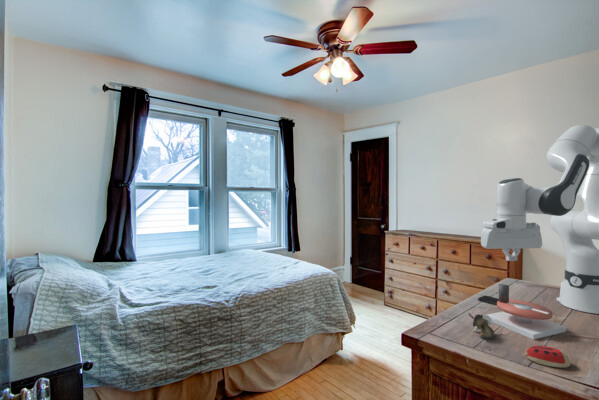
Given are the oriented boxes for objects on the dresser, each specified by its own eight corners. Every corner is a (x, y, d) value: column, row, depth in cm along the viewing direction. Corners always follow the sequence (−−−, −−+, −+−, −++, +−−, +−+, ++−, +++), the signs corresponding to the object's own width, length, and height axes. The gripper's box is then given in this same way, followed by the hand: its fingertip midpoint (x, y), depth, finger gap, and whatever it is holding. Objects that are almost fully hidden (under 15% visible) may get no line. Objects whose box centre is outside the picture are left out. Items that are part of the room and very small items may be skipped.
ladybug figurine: (577, 371, 72) (577, 357, 72) (533, 366, 75) (533, 353, 75) (559, 357, 79) (559, 344, 79) (519, 353, 81) (519, 340, 81)
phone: (485, 295, 128) (526, 305, 115) (485, 297, 128) (526, 308, 115) (476, 298, 123) (518, 309, 111) (476, 301, 123) (518, 312, 111)
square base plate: (515, 313, 109) (515, 301, 109) (565, 331, 94) (566, 318, 94) (484, 319, 104) (484, 306, 104) (533, 339, 89) (533, 324, 89)
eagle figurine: (461, 322, 98) (466, 328, 90) (473, 305, 98) (480, 310, 90) (483, 338, 95) (490, 346, 87) (496, 321, 95) (505, 327, 87)
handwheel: (559, 314, 96) (560, 292, 96) (541, 324, 89) (541, 300, 89) (508, 300, 109) (509, 281, 109) (488, 308, 101) (488, 287, 101)
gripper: (532, 221, 108) (533, 258, 108) (478, 222, 108) (478, 259, 108) (546, 223, 102) (547, 262, 102) (488, 223, 102) (489, 262, 102)
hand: (511, 260), depth 105 cm, fingers closed
